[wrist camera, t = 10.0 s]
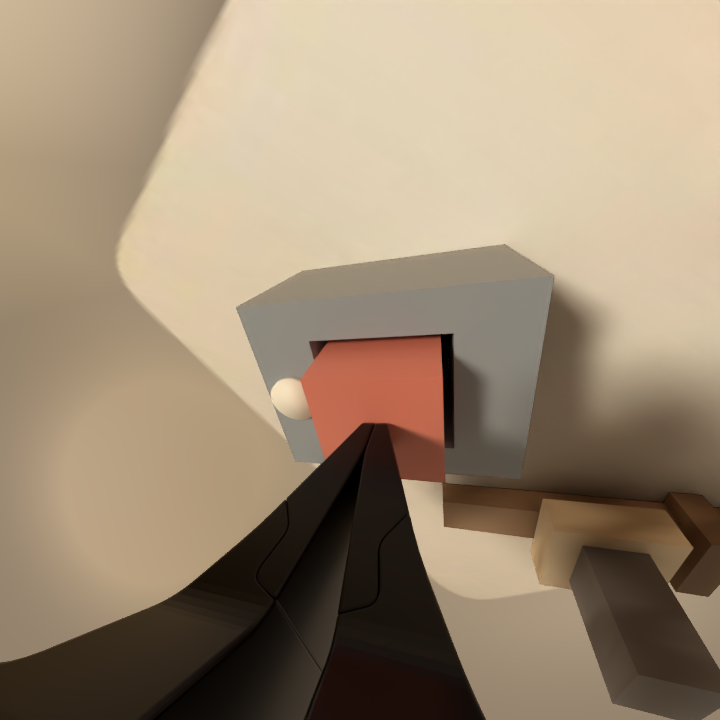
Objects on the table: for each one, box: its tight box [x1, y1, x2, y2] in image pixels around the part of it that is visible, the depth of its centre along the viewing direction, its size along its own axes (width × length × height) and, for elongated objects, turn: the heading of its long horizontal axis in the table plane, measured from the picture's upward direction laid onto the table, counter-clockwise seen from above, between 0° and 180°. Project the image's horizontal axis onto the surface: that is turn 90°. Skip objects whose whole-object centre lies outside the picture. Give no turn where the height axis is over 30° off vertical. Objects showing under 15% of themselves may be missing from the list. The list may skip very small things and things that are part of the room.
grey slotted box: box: [236, 244, 554, 479], centre depth 13 cm, size 10×8×6 cm
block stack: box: [531, 499, 720, 720], centre depth 15 cm, size 6×6×7 cm
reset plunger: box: [300, 334, 445, 483], centre depth 11 cm, size 4×4×4 cm
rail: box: [443, 483, 720, 597], centre depth 18 cm, size 16×5×3 cm, turn 100°
